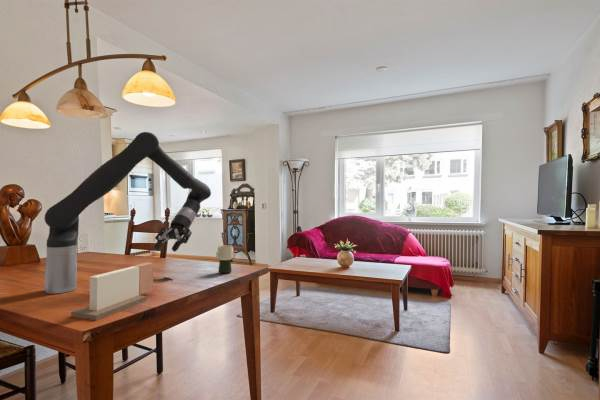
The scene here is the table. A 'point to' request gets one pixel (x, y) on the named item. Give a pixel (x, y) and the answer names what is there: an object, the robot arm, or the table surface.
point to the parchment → (160, 280)
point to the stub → (145, 277)
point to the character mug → (225, 258)
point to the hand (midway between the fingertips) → (164, 249)
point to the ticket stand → (111, 294)
